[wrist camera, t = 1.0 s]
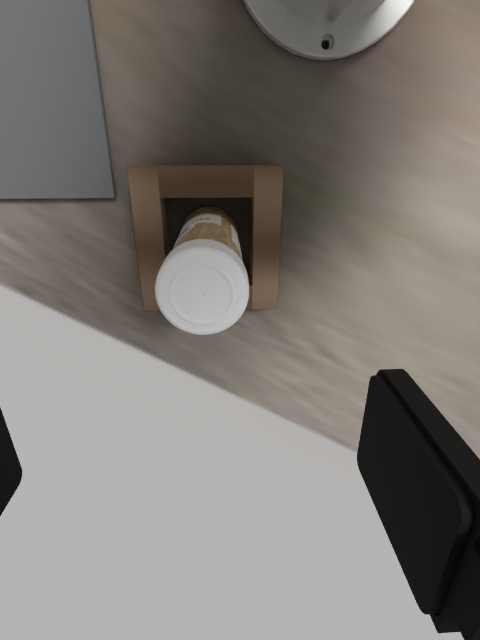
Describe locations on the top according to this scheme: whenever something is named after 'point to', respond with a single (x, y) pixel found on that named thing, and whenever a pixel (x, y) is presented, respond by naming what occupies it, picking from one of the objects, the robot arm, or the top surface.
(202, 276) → the sprinkles bottle
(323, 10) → the robot arm
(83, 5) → the charcoal mat
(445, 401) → the top surface
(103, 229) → the top surface
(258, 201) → the walnut caddy
